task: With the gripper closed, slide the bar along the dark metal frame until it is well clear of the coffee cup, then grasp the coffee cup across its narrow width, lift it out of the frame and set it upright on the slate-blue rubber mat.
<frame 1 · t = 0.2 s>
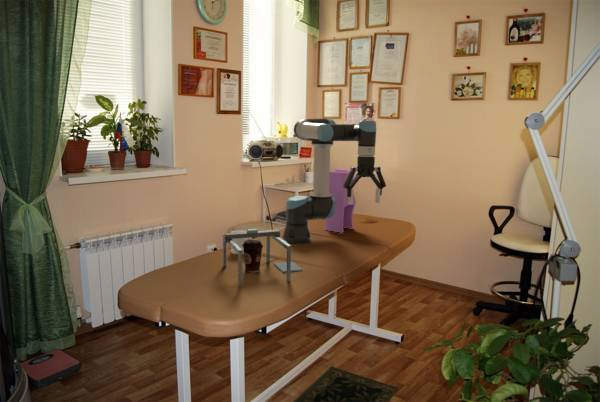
hand: (364, 203, 216), 28 cm above the table, fingers open, 13 cm apart
coffee cup: (252, 270, 208), on the table
bar: (252, 234, 205), point 16 cm above the table, slide at 0.0 cm
mug: (242, 253, 234), on the table
frame: (252, 270, 208), on the table
mat: (287, 267, 213), on the table
purple arched stand: (338, 230, 285), on the table
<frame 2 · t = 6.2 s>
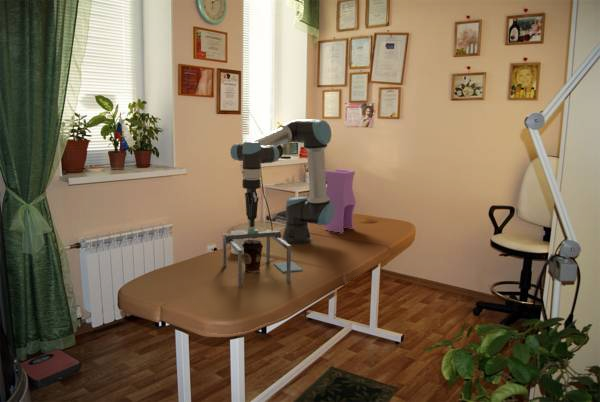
hand: (251, 233, 206), 16 cm above the table, fingers closed
bar: (253, 235, 204), point 16 cm above the table, slide at 1.1 cm, touching gripper
everything else where it was.
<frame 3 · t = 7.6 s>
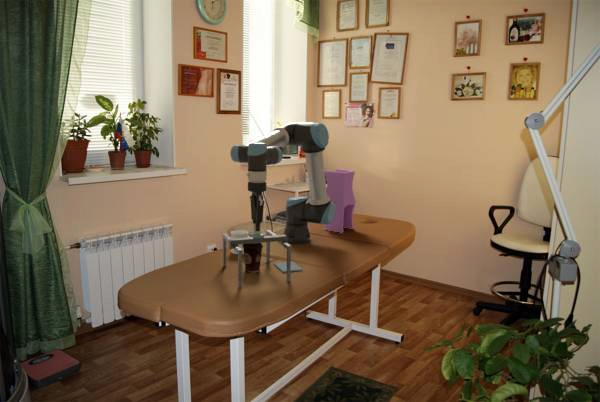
hand: (256, 238, 199), 16 cm above the table, fingers closed
bar: (258, 240, 197), point 16 cm above the table, slide at 9.3 cm, touching gripper
everything else where it was.
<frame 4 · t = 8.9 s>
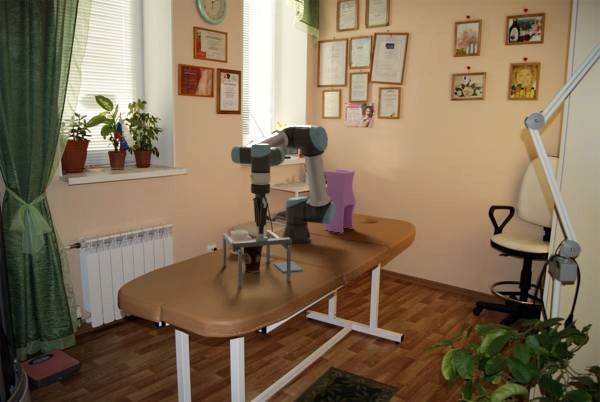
hand: (260, 241, 194), 16 cm above the table, fingers closed
bar: (262, 243, 192), point 16 cm above the table, slide at 14.0 cm, touching gripper
everything else where it was.
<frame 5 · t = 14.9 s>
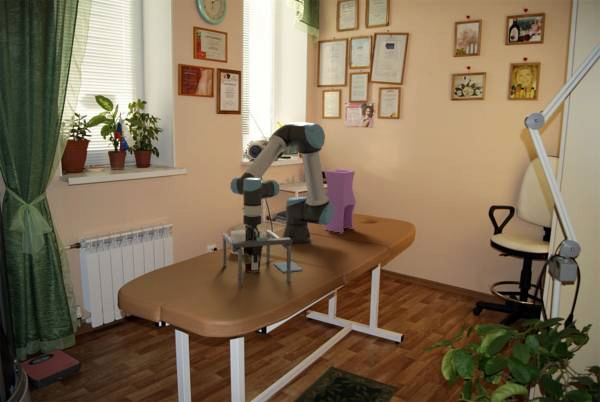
hand: (252, 266, 208), 2 cm above the table, fingers closed on coffee cup, 7 cm apart
coffee cup: (252, 270, 208), on the table, touching gripper
bar: (262, 243, 192), point 16 cm above the table, slide at 14.2 cm
everything else where it was.
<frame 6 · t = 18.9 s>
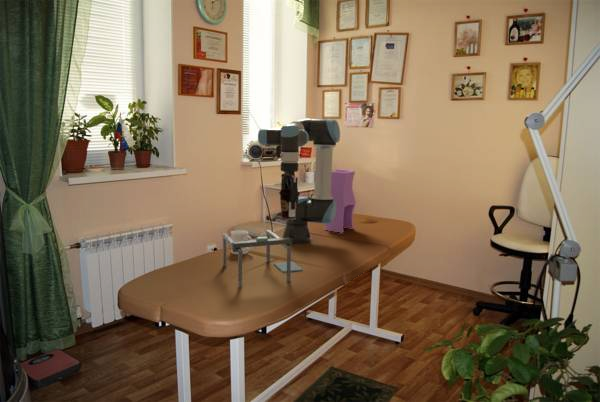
hand: (288, 214, 209), 24 cm above the table, fingers closed on coffee cup, 7 cm apart
coffee cup: (288, 218, 209), point 22 cm above the table, touching gripper
everything else where it was.
when the fingers open (4 cm above the table, at t = 23.3 s): coffee cup drops 1 cm, resting on mat.
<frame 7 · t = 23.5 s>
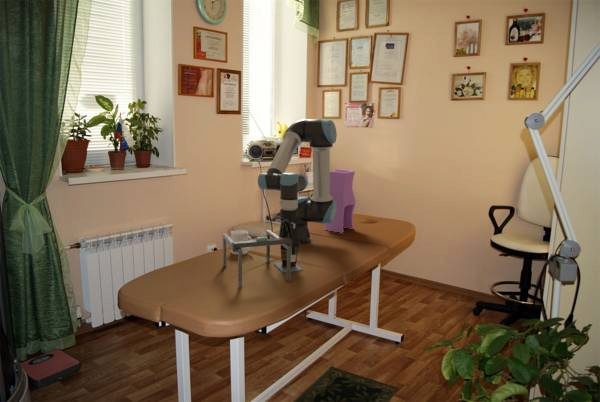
hand: (288, 258, 212), 4 cm above the table, fingers open, 10 cm apart
coffee cup: (288, 267, 212), resting on mat
everything else where it was.
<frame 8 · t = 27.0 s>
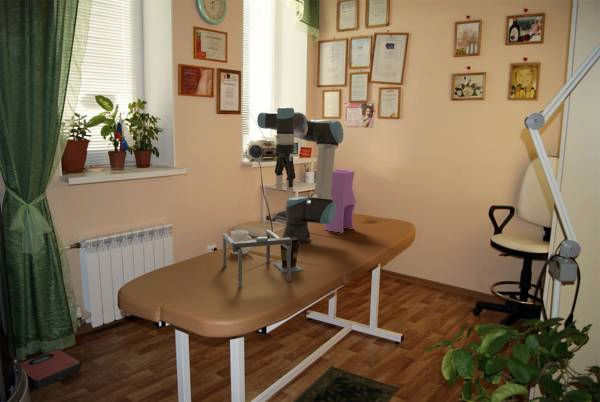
hand: (284, 192, 212), 33 cm above the table, fingers open, 13 cm apart
nothing on the table moved.
at the end: bar slide at 14.2 cm; coffee cup inside the target area on the mat (0.8 cm from its centre), point 0.4 cm above the mat's base; coffee cup tilted 1° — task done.
